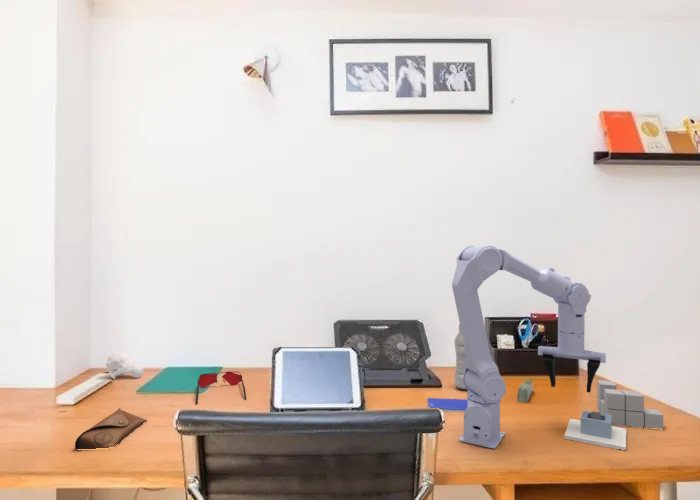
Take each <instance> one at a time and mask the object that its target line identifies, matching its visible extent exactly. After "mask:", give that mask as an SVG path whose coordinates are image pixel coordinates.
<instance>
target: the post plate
mask: <svg viewBox="0 0 700 500" xmlns="http://www.w3.org/2000/svg"><path fill="white" fill-rule="evenodd" d="M590 412H591V418H593V419H598V420H601V413H600V412H599V411H594V410H593V411H590ZM564 439H565V440H569V441H574V442H579V443H584V444H589V445H594V446H599V447H605V448H609V449H613V448H614V450H618V449H621V450H620V451H623V450H626V451H627V428H624V427H620V426H615V425H612V433H611V439H608V438H602V437H597V436H592V435H587V434H582V433H581V419H580V420H579V419H575V418H570V419H569V421H568V424H567V426H566V430H565V433H564Z"/></svg>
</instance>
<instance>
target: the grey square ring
mask: <svg viewBox="0 0 700 500" xmlns="http://www.w3.org/2000/svg"><path fill="white" fill-rule="evenodd" d="M591 412H592V411H588V410H584V409H583V410H582V413H581V416H580V421H581V433H582V434H587V435H592V436H597V437H602V438H608V439H611V433H612V426H613V425H612V415H607V414H601V420H598V419H593V418H591Z"/></svg>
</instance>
